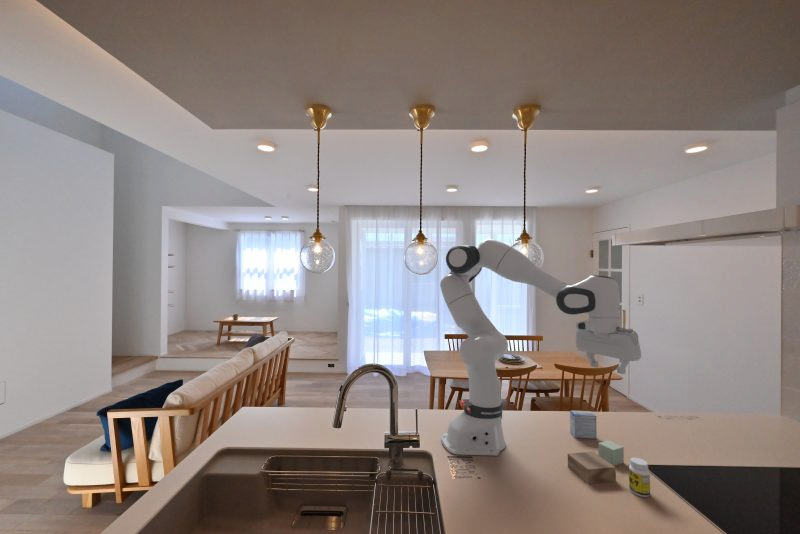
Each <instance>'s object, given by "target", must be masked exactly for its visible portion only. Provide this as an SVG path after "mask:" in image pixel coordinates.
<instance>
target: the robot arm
mask: <svg viewBox="0 0 800 534" xmlns="http://www.w3.org/2000/svg"><path fill="white" fill-rule="evenodd" d="M445 263H446V265H447V267H448V269H449V270H450V271H449V273H448V274H447V275H445V276H444V277H443V278H442V279H441V281H440V285H439V286H440V291H441V294H442V297H443V300H444V302H445V304H446V306H447V308H448V310H449V312H450V315H451V317H452V318H453V320H454V323H455V325H456V326H457V327H458V328H460V329H461V330H462V331H463V332H464V333H465V334H466V335H467V338H465V339H464V340H463V341H462V342H461V343H460V346H459V351H458V352H459V353H458V354H459V357H460V360H461V361H462V362H463V364H465V367H466V372H467V377H468V389H469V390H468V399H469V400H468V399H467V402H465V400H463V399H462V400H460V401H459V405H460V406H461V408H463V411H462V412H461V413H460V414H459V415H457V416H456V417H454V418H453V419H452V420H451V421H449V424H448V427H447V432H444V433H442V434H441V437H440V441H441V443H442V446H444V448H445V449H446V451H448V452H449V453H451V454H453V455H461V456H463V455H464V456H466V455H467V456H468V455H469V456H495V457H496V456H499V455H500V453H501V451H503V450H504V449H505V448H506V445H507V444H506V441H505V436H504V431H503V426H502V424H503V423H502V419H503V404H502V400H501V399H502V398H501V396H502V395H501V394H502V391H501V389H502V388H501V387H502V384H501V383H502V381H501V379H500V378H499V377H498V374H497V369H496V362H497V361H498V360H500V359H501V358H503V357H504V356H505V354H506V353H507V352H508V351H507V350H508V348H509V343H508V339H507V338H506V336H505V335H504V334H503V333H501V332H500V331H499V330H498V329H497V328H496V326H495V325H494V324H493V322H492V321H491V320H490V319H489V318H488V316H487V315H486V313H485V312H484V311H483V308H482V307H481V305H480V303H479V301H478V298H477V297H476V296H475V293H474V292H473V290H472V288H471V286H470V283H471V282H472V281H473V280H474V279H475V278H476V277H477V276H479V274H480V273H481V271H482V270H483V268H486V269H489V270H490V271H492V272H494V273H495V274H497V275H498V276H499V277H502V278H504V279H506V280H509V281H511V282H515V283H521V284H527V285H529V286H532V287H535V288H537V289H539V290H540V291H541V292H543V293H546V294H548V296H551V297H553V298H554V299H555V302H556V305H557V307H558V309H559V310H560V311H561V312H563V313H564V314H566V315H570V316H577V315H581V314H588V319H586V320H582V321H579V322H576V323H575V328H576V331H575V348H576V349H577V351H580V352H585V353H586V357H587V359H588V360H589V366H590V367H592V368H598V366H599V365H598V364H599V361H597V360H596V358H595V355H600V356H603V357H609V358H612V359H613V358H614V359H619V363H620V365H619V366H618V367H616V373H618V374H621V375H625V374H626V372H627V371H626V368H627V366H628V365H629V363H630V362H637V361H640V360H641V358H642V351H641V345H640V341H639V335H638V333H637V332H636V331H635V330H634V329H633V328H625V327H622V318H621V312H620V304H621V299H620V298H621V297H620V295H621V294H620V290H619V284H618V282H617V281H616V280H615V279H614V278H613V277H611V276H607V275H606V276H605V275H598V274H597V275H596V274H591V275H589V276H588V277H587V278H585V279H583V280H581V281H579V282H576V283H574V284H569V283H565V282H564V281H562V280H559V279H557V278H555V277H554V276H552V275H550V274H549V273H547V272H545V271H544V270H542V269H540V268H539V267H538V266H537V265H536V264H535V263H534V262H533V261H532V260H531V259H529V258H528V257H527V256H526V255H524V253H522V252H520V250H518V249H516V248H514V247H513V246H511V245H508V244H507V243H504V242H501V241H500V240H496V239H493V238H486V239H484V240H483V241H481V242H480V243H479V244H478V246H477V247H476V246H475V245H463V244H462V245H454V246H453V247H451V248H450V249H449V250H448V251H447V253H446V256H445Z"/></svg>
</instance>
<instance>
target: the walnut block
mask: <svg viewBox="0 0 800 534" xmlns="http://www.w3.org/2000/svg"><path fill="white" fill-rule="evenodd" d="M567 468H569V469H570V470H571V471H572V472H573V473H575V474H576V475H577V476H578V477H579V478H581V479H582V480H583V481H584V482H585V483H586V484H588V485H589V484H599V483H610V482H611V483H612V482H616V481H617V469H616V468H617V467H616V465H615V466H613V465H612V464H611V463H609V462H608V461H606V460H605V459H603V458H602V457H600V456H599V453H598V454H597V453H596V452H595V451H586V452H583V451H582V452H572V453H570V452H569V453H567Z"/></svg>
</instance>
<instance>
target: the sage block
mask: <svg viewBox="0 0 800 534" xmlns="http://www.w3.org/2000/svg"><path fill="white" fill-rule="evenodd" d="M597 448H598V455H599V456H600V457H602V458H603V459H605V460H606V461H608V462H609V463H611V464H612V465H613V466H615V467H616V466H618V465H620V464H621V465H622V464H624V462H625V461H624V460H625V459H624V457H625V454H624V453H625V451H624V449H625V448H624V446H622V445H620V444H617V443H615V442H613V441H610V440H609V439H608V440H604V441H601V442H598V447H597Z"/></svg>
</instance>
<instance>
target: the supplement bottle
mask: <svg viewBox="0 0 800 534" xmlns="http://www.w3.org/2000/svg"><path fill="white" fill-rule="evenodd" d="M629 463H630V465H629V466H628V488H629V491H630V492H631V493H633V494H634V495H636V496H639V497H641V498H647V497H651V472H650V470H649V463H648V462H647V461H646V460H644V459H642V458H639V457H631V458H630V461H629Z"/></svg>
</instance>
